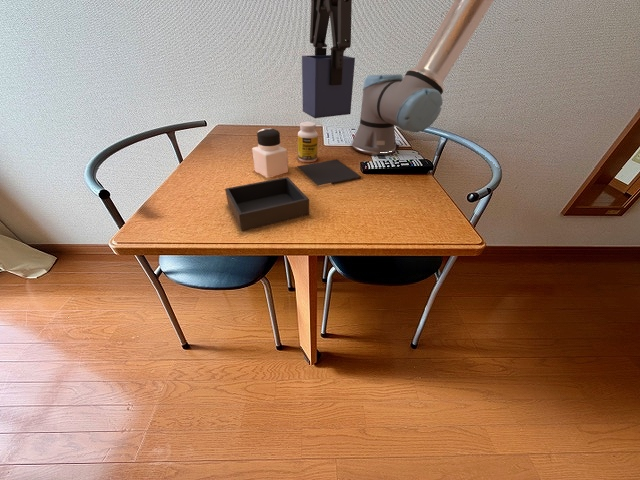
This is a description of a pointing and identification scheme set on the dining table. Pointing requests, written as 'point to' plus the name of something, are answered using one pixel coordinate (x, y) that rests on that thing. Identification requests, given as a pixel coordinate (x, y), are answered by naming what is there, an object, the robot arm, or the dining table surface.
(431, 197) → the dining table surface
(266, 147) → the medicine bottle
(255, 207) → the bin
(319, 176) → the mat
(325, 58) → the inner bin
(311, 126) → the pill bottle
